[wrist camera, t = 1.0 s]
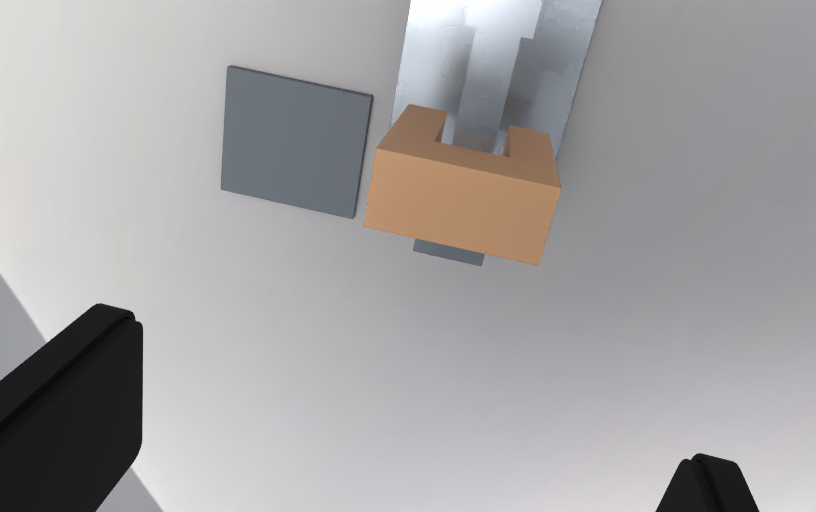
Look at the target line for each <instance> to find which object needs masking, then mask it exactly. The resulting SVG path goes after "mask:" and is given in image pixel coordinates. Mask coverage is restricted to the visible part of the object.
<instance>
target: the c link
mask: <svg viewBox="0 0 816 512" xmlns="http://www.w3.org/2000/svg"><path fill="white" fill-rule="evenodd" d="M446 116H447V112H446V111H441V110H437V109H432V108H427V107H423V106H418V105H413V104H408V106H407V107H406V109H405V110H404V111H403V113H402V114H401V115H400V117H399V118H398V119H397V121H396V122H395V123H394V125H393V126H392V128H391V129H390V130H389V132H388V133H387V134H386V136H385V137H384V138H383V140H382V141H381V142H380V144H379V145H378V146H377V148H376V153H375V159H374V165H373V171H372V177H371V184H370V190H369V196H368V202H367V209H366V215H365V221H364V227H367V228H372V229H376V230H381V231H385V232H390V233H394V234H398V235H403V236H407V237H412V238H416V239H421V240H425V241H430V242H434V243H439V244H443V245H448V246H452V247H456V248H461V249H465V250H470V251H474V252H479V253H483V254H488V255H492V256H497V257H501V258H506V259H510V260H515V261H519V262H523V263H528V264H532V265H537V266H538V265H539V262H540V258H541V255H542V252H543V248H544V245H545V242H546V238H547V235H548V232H549V228H550V225H551V222H552V218H553V215H554V212H555V208H556V205H557V202H558V198H559V195H560V192H561V184H560V180H559V176H558V171H557V167H556V163H555V159H554V154H553V150H552V146H551V141H550V137H549V133H545V132H540V131H536V130H531V129H526V128H522V127H517V126H512V125H510V126H509V130H508V134H507V138H506V142H505V146H504V150H503V153H502V156H500V155H496V154H491V153H486V152H482V151H477V150H472V149H468V148H463V147H458V146H454V145H449V144H444V143H441V141H442V136H443V131H444V126H445V121H446Z"/></svg>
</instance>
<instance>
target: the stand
mask: <svg viewBox="0 0 816 512" xmlns="http://www.w3.org/2000/svg"><path fill="white" fill-rule="evenodd" d="M601 2H602V0H411V5H410V11H409V17H408V23H407V29H406V35H405V41H404V47H403V53H402V59H401V65H400V71H399V77H398V83H397V89H396V94H395V100H394V106H393V112H392V118H391V124H390V129H391V128H392V126H393V125H394V123H395V122H396V121H397V119H398V118H399V117H400V115H401V114H402V113H403V111H404V110H405V109H406V107H407V106H408V104H413V105H418V106H423V107H427V108H432V109H437V110H441V111H446V112H447V116H446V121H445V126H444V131H443V136H442V141H441V143H444V144H449V145H454V146H458V147H463V148H468V149H472V150H477V151H482V152H486V153H491V154H496V155H500V156H502V153H503V150H504V146H505V142H506V138H507V134H508V130H509V126H510V125H512V126H517V127H522V128H526V129H531V130H536V131H540V132H545V133H549V137H550V141H551V146H552V150H553V154H554V159H555V161H556V157H557V154H558V150H559V147H560V143H561V140H562V136H563V133H564V130H565V126H566V123H567V119H568V116H569V112H570V109H571V105H572V102H573V98H574V95H575V91H576V88H577V85H578V81H579V78H580V74H581V71H582V67H583V64H584V60H585V57H586V53H587V50H588V47H589V43H590V40H591V36H592V33H593V29H594V26H595V22H596V19H597V15H598V12H599V8H600V5H601ZM413 251H416V252H420V253H425V254H429V255H433V256H438V257H442V258H447V259H451V260H456V261H460V262H464V263H469V264H473V265H478V266H482V262H483V258H484V254H483V253H479V252H474V251H470V250H465V249H461V248H456V247H452V246H448V245H443V244H439V243H434V242H430V241H425V240H421V239H415V244H414V249H413Z"/></svg>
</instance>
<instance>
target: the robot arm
mask: <svg viewBox="0 0 816 512" xmlns="http://www.w3.org/2000/svg"><path fill="white" fill-rule="evenodd" d="M142 401H143V326H142V324H141V323H140V322H138V321H135V316H134V314H133V312H131V311H129V310H125V309H121V308H117V307H113V306H109V305H105V304H96V305H94V306H92V307H91V308H90V309H89V310H87V311H86V312H85V313H84V314H82V315H81V316H80V317H79V318H77V319H76V320H75V321H74V322H72V323H71V324H70V325H69V326H68V327H66V328H65V329H64V330H63V331H61V332H60V333H59V334H58V335H56V336H55V337H54V338H53V339H51V340H50V341H49V342H48V343H46V344H45V345H44V346H43V347H42V348H40V349H39V350H38V351H37V352H35V353H34V354H33V355H32V356H31V357H29V358H28V359H27V360H25V361H24V362H23V363H22V364H20V365H19V366H18V367H17V368H16V369H14V370H13V371H12V372H10V373H9V374H8V375H7V376H6V377H4V378H3V379H2V380H1V381H0V512H96V510H97V509H98V508H99V506H100V505H101V504H102V502H103V501H104V500H105V498H106V497H107V496H108V494H109V493H110V492H111V491H112V489H113V488H114V487H115V485H116V484H117V483H118V482H119V480H120V479H121V478H122V476H123V475H124V474H125V472H126V471H127V470H128V469H129V467H130V466H131V465H132V463H133V462H134V460H135V459H136V457H137V455H138V453H139V451H140V448H141V444H142ZM656 512H759V510H758V508H757V505H756V503H755V501H754V499H753V496H752V494H751V492H750V490H749V487H748V485H747V483H746V481H745V479H744V476H743V474H742V472H741V470H740V468H739V466H738V465H737V464H736V463H735V462H733V461H729V460H725V459H721V458H717V457H713V456H709V455H705V454H701V453H699V454H696V455H695V456H693V458H692V459H691V460H688V459H684V460H682V461H681V462H680V464H679V466H678V468H677V470H676V472H675V474H674V476H673V478H672V480H671V482H670V484H669V486H668V488H667V490H666V492H665V494H664V496H663V498H662V500H661V502H660V504H659V506H658V508H657V510H656Z"/></svg>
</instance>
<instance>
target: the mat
mask: <svg viewBox="0 0 816 512" xmlns="http://www.w3.org/2000/svg"><path fill="white" fill-rule="evenodd" d="M372 99H373V95H368V94H363V93H359V92H354V91H349V90H344V89H340V88H335V87H330V86H326V85H321V84H316V83H311V82H307V81H302V80H297V79H293V78H288V77H283V76H278V75H274V74H269V73H264V72H260V71H255V70H250V69H245V68H241V67H236V66H228V67H227V79H226V98H225V117H224V136H223V154H222V173H221V190H225V191H230V192H234V193H238V194H243V195H247V196H252V197H256V198H261V199H265V200H270V201H274V202H279V203H283V204H288V205H292V206H297V207H301V208H306V209H310V210H314V211H319V212H323V213H328V214H332V215H337V216H341V217H346V218H350V219H353V218H354V216H355V210H356V204H357V197H358V191H359V184H360V178H361V171H362V165H363V158H364V151H365V145H366V138H367V132H368V125H369V119H370V112H371V106H372Z"/></svg>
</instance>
